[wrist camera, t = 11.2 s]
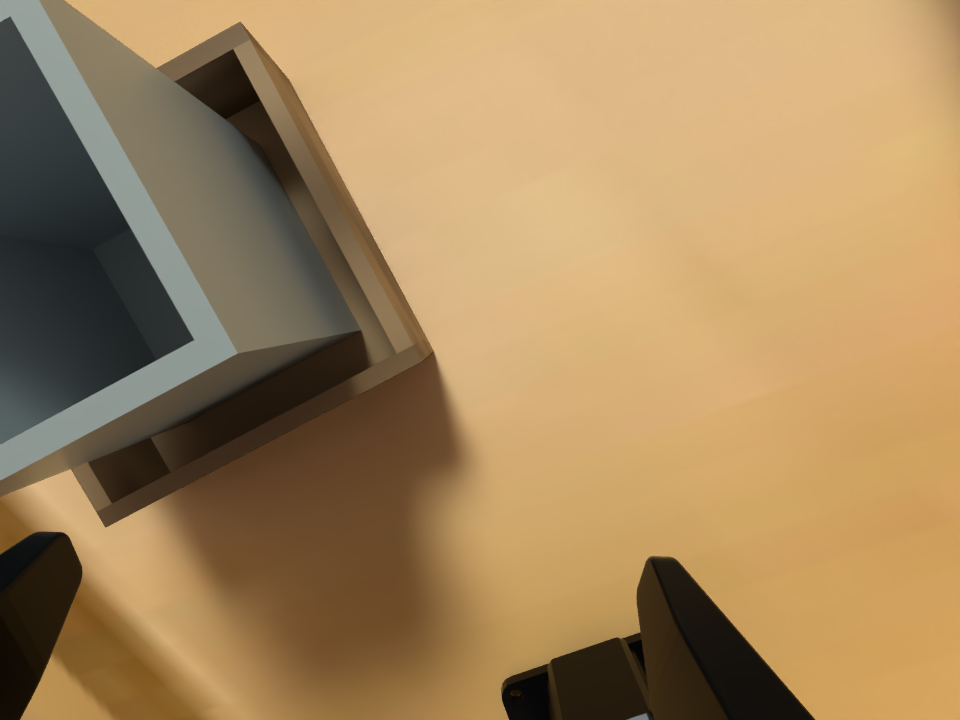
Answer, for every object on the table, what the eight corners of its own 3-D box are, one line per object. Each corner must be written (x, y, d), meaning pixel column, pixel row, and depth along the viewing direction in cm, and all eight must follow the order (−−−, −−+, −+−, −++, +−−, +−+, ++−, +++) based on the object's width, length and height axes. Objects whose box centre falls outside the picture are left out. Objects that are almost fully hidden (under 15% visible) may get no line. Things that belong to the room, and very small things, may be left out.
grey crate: (361, 330, 20) (238, 353, 10) (185, 423, 20) (-112, 540, 10) (261, 145, 19) (21, -31, 9) (82, 244, 19) (-341, 176, 9)
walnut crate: (433, 350, 20) (422, 361, 16) (177, 485, 21) (105, 527, 17) (288, 79, 20) (240, 21, 16) (26, 224, 20) (-87, 203, 16)
